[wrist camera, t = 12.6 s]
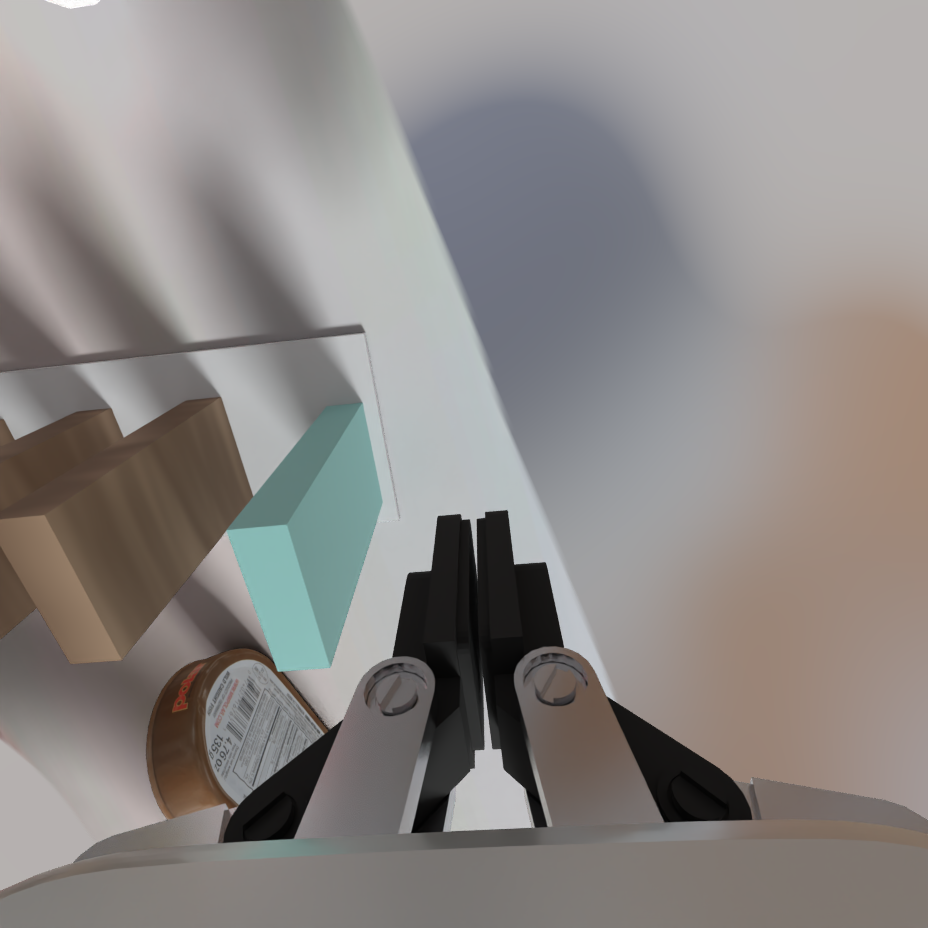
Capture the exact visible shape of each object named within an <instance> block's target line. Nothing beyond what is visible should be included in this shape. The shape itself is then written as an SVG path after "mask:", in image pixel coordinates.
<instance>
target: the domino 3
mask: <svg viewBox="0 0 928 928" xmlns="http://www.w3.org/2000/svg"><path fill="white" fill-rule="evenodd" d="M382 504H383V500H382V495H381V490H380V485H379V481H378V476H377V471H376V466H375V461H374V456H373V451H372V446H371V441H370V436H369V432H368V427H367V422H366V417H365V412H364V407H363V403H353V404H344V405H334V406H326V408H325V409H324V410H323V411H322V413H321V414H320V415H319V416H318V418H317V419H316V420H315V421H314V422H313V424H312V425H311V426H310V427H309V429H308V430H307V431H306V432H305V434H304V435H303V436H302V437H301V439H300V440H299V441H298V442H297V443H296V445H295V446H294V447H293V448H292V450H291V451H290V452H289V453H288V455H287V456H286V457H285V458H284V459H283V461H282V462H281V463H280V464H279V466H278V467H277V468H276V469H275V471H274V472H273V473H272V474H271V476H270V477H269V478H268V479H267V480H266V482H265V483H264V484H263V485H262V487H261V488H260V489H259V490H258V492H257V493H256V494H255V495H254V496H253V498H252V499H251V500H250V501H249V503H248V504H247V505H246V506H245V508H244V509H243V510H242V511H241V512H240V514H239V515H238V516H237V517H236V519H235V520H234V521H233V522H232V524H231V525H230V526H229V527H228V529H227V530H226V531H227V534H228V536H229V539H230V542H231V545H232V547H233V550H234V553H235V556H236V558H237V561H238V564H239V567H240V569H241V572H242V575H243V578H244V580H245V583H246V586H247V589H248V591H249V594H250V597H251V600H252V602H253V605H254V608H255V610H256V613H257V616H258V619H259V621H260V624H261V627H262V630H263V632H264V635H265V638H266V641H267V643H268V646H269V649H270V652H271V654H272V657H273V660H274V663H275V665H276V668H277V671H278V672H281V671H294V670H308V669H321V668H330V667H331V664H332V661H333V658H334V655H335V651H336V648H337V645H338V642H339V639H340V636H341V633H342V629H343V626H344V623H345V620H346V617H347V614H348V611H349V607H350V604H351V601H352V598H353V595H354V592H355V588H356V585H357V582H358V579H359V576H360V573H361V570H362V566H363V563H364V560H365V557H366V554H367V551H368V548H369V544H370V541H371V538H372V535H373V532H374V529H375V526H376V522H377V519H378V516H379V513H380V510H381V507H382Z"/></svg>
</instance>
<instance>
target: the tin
mask: <svg viewBox="0 0 928 928" xmlns="http://www.w3.org/2000/svg"><path fill="white" fill-rule="evenodd" d="M327 732H328V730H327V729H326V728H325V726H324V725H323V724H322V722H321V721H320V720H319V719H318V717H317V716H316V715H315V714H314V712H313V711H312V710H311V709H310V707H309V706H308V705H307V704H306V702H305V701H304V700H303V699H302V697H301V696H300V695H299V694H298V692H297V691H296V690H295V689H294V687H293V686H292V685H291V684H290V682H289V681H288V680H287V679H286V677H285V676H284V675H283V674H282V672H278V671H277V668H276V665H275V664H274V663H273V662H272V661H271V660H270V659H269V658H267V657H266V656H265V655H263V654H261V653H259V652H257V651H255V650H251V649H233V650H229V651H226V652H223V653H220V654H217V655H215V656H212V657H210V658H207V659H203V660H198V661H194V662H192V663H190V664H188V665H186V666H184V667H183V668H181V669H180V670H179V671H177V672H176V673H175V674H174V675H173V676H172V677H171V678H170V680H169V681H168V682H167V684H166V685H165V686H164V688H163V689H162V691H161V693H160V694H159V697H158V699H157V701H156V703H155V706H154V708H153V711H152V715H151V718H150V723H149V726H148V734H147V743H146V761H147V768H148V775H149V780H150V784H151V788H152V791H153V794H154V797H155V799H156V801H157V804H158V806H159V807H160V809H161V811H162V813H163V814H164V815H165V817H166V818H167V820H169V819H173V818H176V817H180V816H183V815H187V814H190V813H194V812H197V811H201V810H204V809H208V808H211V807H215V806H218V805H222V804H226V805H227V807H228V809H231V808H235V807H238V806H239V804H240V803H241V802H242V801H243V800H244V799H245V798H246V797H247V796H248V795H249V794H250V793H251V792H252V791H253V790H255V789H256V788H257V787H259V786H260V785H261V784H262V783H264V782H265V781H266V780H267V779H269V778H270V777H271V776H272V775H274V774H275V773H276V772H277V771H279V770H280V769H281V768H282V767H284V766H285V765H286V764H288V763H289V762H290V761H291V760H293V759H294V758H295V757H296V756H298V755H299V754H300V753H301V752H303V751H304V750H305V749H306V748H308V747H309V746H310V745H311V744H313V743H314V742H315V741H317V740H318V739H319V738H320V737H322V736H323V735H324V734H325V733H327Z"/></svg>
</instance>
